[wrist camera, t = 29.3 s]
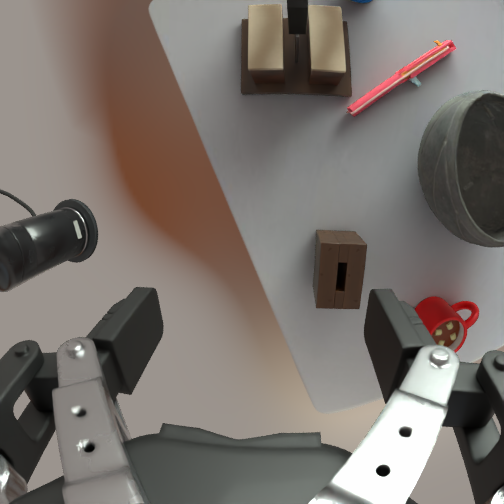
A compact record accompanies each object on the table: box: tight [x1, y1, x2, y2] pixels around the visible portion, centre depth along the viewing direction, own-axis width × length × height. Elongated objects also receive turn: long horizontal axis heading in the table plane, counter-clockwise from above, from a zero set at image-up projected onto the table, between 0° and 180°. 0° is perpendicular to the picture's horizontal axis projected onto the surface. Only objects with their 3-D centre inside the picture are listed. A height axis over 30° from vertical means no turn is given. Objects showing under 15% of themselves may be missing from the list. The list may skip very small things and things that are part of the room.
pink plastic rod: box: [346, 40, 456, 117], centre depth 37 cm, size 24×2×5 cm
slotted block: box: [241, 4, 352, 97], centre depth 35 cm, size 16×13×8 cm
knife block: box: [313, 230, 367, 309], centre depth 43 cm, size 6×9×8 cm, turn 0°
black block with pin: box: [287, 0, 308, 62], centre depth 30 cm, size 2×3×17 cm, turn 0°
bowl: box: [418, 90, 504, 247], centre depth 33 cm, size 21×21×15 cm
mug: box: [414, 297, 479, 353], centre depth 43 cm, size 8×12×8 cm, turn 121°
